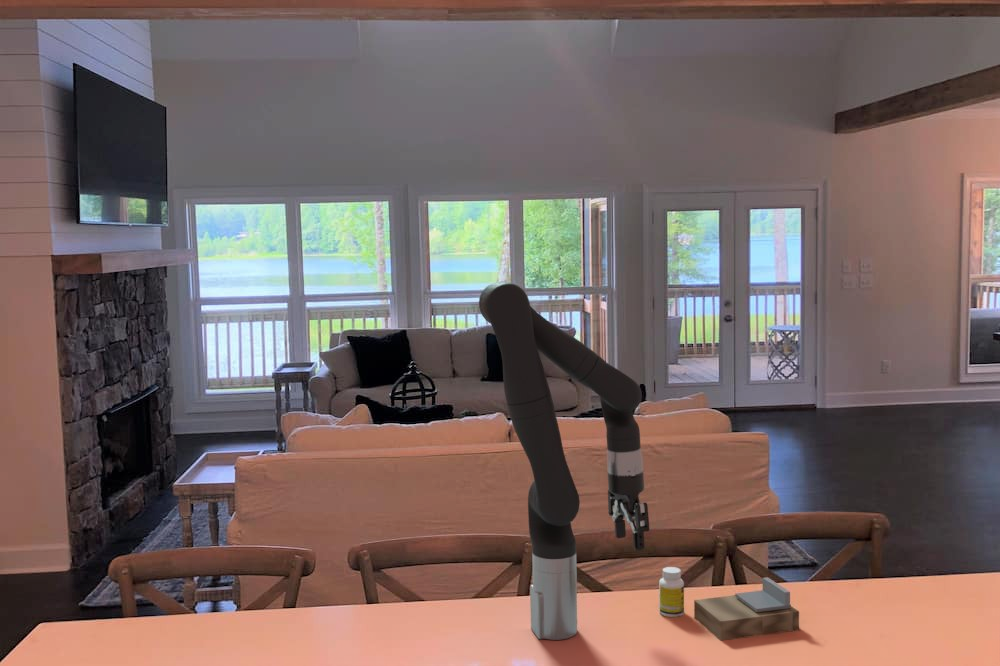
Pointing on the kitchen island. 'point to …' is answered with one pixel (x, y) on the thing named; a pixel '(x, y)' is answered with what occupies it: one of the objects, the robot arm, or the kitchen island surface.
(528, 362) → the robot arm
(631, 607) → the kitchen island surface
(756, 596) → the panel
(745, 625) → the socket board
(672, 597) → the supplement bottle
